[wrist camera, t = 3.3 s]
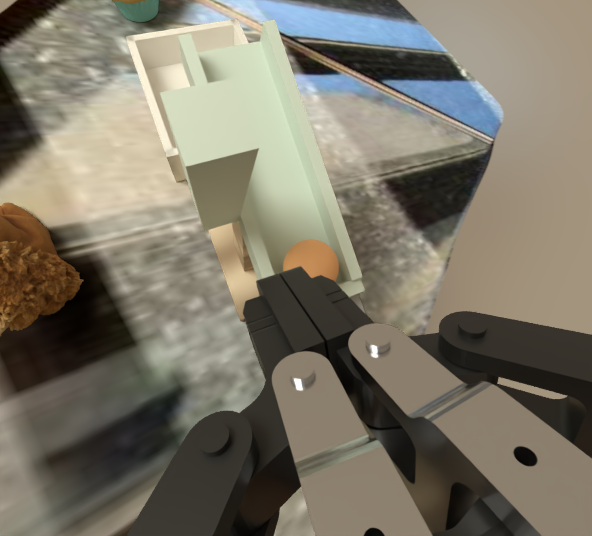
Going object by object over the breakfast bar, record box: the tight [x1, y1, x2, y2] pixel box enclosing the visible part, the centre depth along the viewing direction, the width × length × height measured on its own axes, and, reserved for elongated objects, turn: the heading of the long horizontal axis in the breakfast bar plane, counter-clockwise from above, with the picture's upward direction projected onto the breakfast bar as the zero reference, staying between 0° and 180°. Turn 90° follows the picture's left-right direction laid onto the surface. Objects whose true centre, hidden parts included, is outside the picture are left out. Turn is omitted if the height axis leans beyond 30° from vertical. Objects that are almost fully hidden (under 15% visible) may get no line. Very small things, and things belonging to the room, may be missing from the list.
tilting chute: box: [160, 20, 365, 313], centre depth 19 cm, size 23×10×16 cm, turn 22°
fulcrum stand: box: [208, 221, 259, 321], centre depth 31 cm, size 12×10×11 cm
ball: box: [283, 240, 339, 281], centre depth 22 cm, size 4×4×4 cm
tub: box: [126, 19, 248, 182], centre depth 39 cm, size 16×13×4 cm
